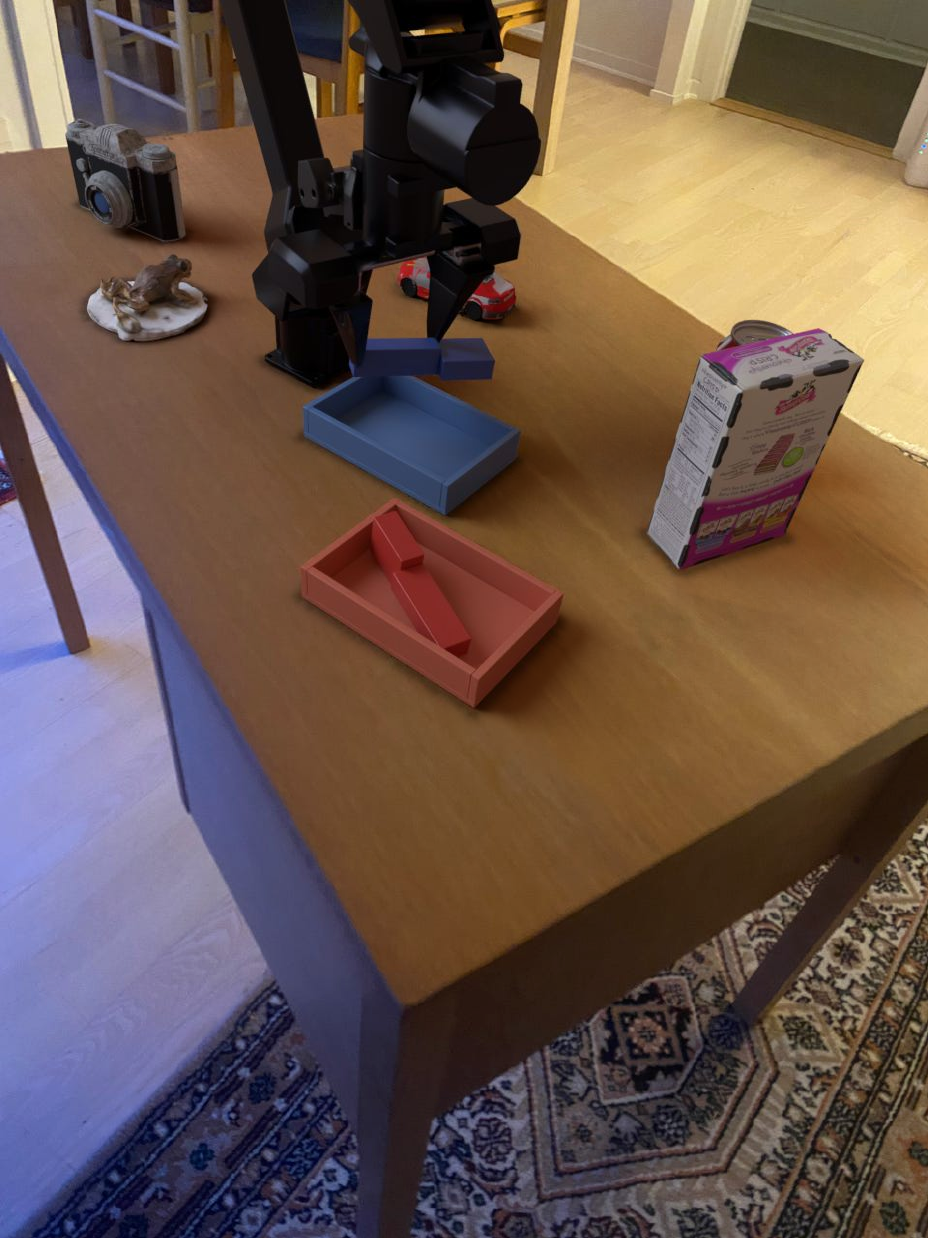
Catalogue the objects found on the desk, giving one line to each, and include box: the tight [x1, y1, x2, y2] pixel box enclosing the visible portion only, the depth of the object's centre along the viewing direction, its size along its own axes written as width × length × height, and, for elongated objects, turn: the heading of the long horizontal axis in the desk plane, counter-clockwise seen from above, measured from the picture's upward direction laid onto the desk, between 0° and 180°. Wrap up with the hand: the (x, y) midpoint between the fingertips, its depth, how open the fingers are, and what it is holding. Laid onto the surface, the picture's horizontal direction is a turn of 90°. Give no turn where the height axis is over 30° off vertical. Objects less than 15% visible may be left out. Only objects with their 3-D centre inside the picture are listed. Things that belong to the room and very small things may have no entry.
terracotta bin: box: [300, 497, 565, 709], centre depth 63 cm, size 15×10×3 cm
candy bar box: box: [646, 327, 865, 571], centre depth 67 cm, size 11×5×16 cm, turn 118°
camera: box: [64, 118, 187, 243], centre depth 96 cm, size 15×7×10 cm, turn 58°
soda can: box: [715, 319, 794, 351], centre depth 76 cm, size 7×7×12 cm
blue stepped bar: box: [349, 337, 496, 382], centre depth 73 cm, size 11×4×2 cm, turn 106°
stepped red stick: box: [370, 511, 471, 657], centre depth 62 cm, size 11×4×2 cm
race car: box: [397, 257, 517, 321], centre depth 94 cm, size 13×5×4 cm, turn 60°
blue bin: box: [302, 376, 522, 516], centre depth 76 cm, size 15×10×3 cm
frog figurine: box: [86, 254, 208, 342], centre depth 87 cm, size 12×12×4 cm
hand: (395, 353), depth 72 cm, fingers closed on blue stepped bar, 7 cm apart
